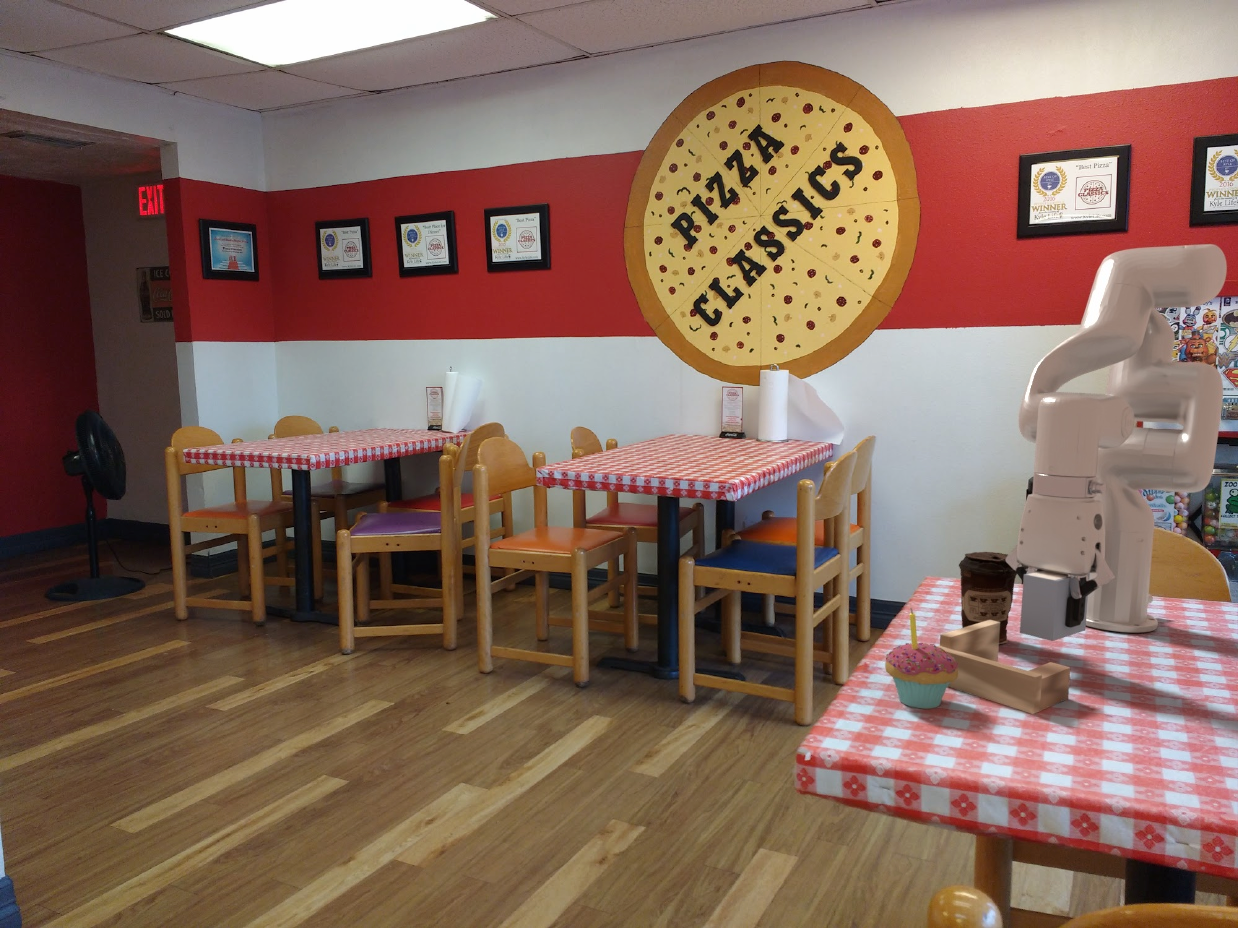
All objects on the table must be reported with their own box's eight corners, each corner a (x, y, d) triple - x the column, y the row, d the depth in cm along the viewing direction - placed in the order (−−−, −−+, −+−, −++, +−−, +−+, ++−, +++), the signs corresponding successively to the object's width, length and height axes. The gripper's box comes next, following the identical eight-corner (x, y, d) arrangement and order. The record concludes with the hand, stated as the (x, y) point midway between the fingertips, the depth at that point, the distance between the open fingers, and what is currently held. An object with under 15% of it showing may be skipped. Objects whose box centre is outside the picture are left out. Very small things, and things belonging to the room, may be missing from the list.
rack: (987, 661, 128) (989, 619, 127) (1087, 690, 117) (1090, 644, 117) (930, 681, 120) (933, 636, 119) (1033, 713, 109) (1036, 664, 108)
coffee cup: (1020, 651, 133) (1026, 563, 132) (959, 646, 135) (965, 559, 133) (1007, 633, 142) (1013, 550, 140) (951, 629, 143) (955, 547, 142)
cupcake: (919, 719, 107) (924, 618, 106) (868, 695, 114) (872, 601, 113) (971, 707, 111) (977, 610, 110) (918, 684, 118) (923, 594, 117)
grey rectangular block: (1053, 622, 129) (1057, 566, 128) (1085, 630, 126) (1089, 572, 125) (1019, 632, 124) (1023, 574, 123) (1052, 640, 120) (1057, 580, 119)
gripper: (1143, 493, 118) (1131, 631, 120) (1017, 479, 132) (1009, 603, 134) (1116, 497, 114) (1105, 641, 116) (989, 482, 127) (981, 611, 129)
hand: (1053, 619), depth 125 cm, fingers closed on grey rectangular block, 4 cm apart
